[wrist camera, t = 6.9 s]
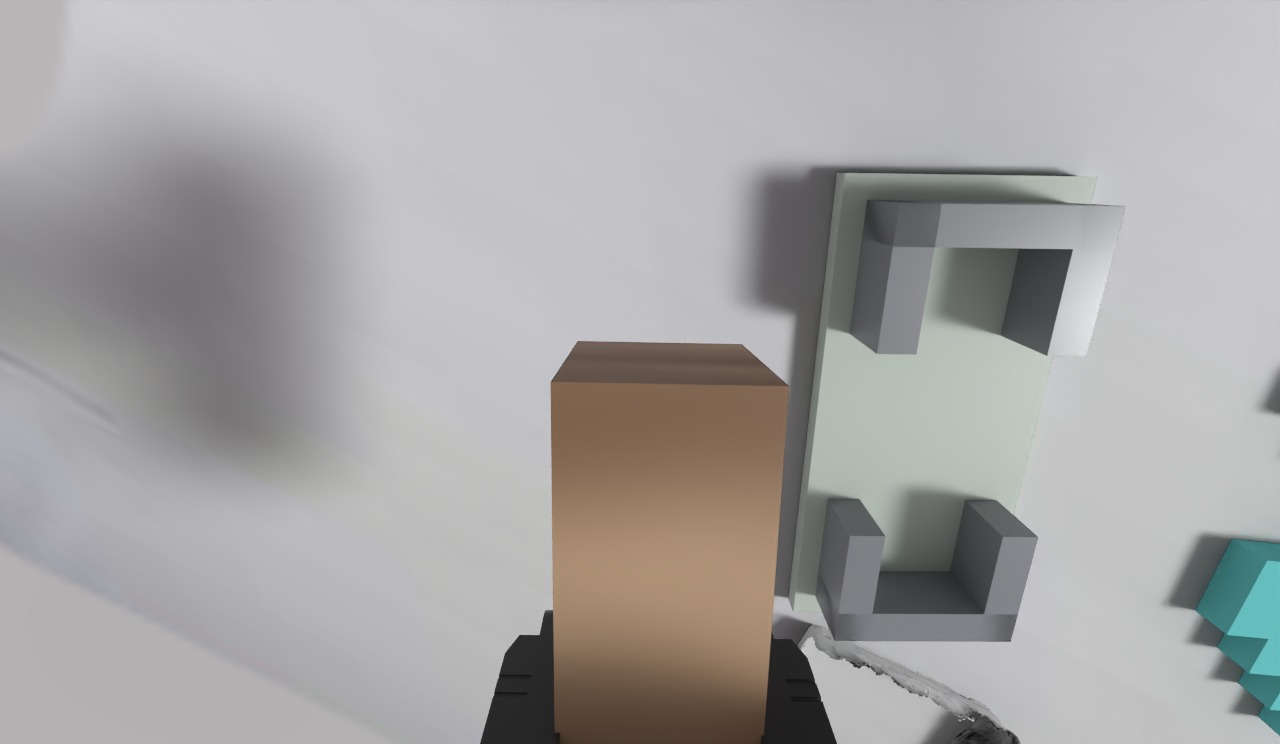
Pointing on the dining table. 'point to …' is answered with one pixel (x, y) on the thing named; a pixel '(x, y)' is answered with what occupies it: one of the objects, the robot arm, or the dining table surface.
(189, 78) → the dining table surface
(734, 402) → the slat
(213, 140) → the dining table surface
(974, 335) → the cradle board
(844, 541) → the end caps
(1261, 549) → the alien figure
